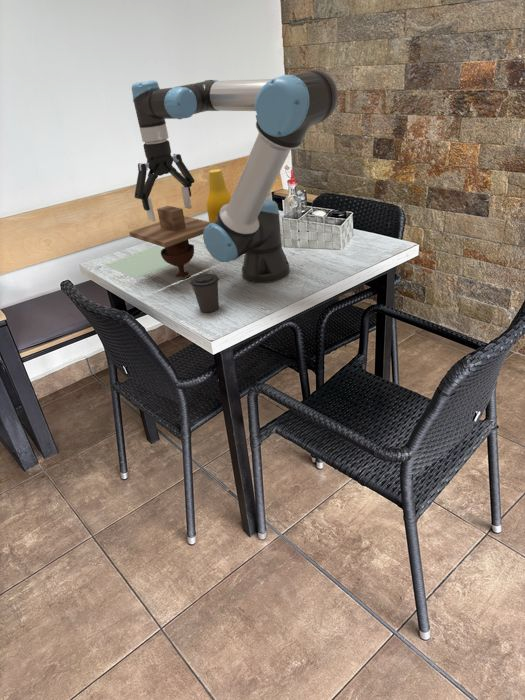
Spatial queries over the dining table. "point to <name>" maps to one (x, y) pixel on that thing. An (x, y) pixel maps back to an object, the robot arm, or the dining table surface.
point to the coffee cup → (206, 292)
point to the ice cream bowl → (179, 256)
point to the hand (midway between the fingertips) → (170, 214)
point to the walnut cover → (170, 228)
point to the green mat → (140, 263)
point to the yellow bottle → (216, 194)
